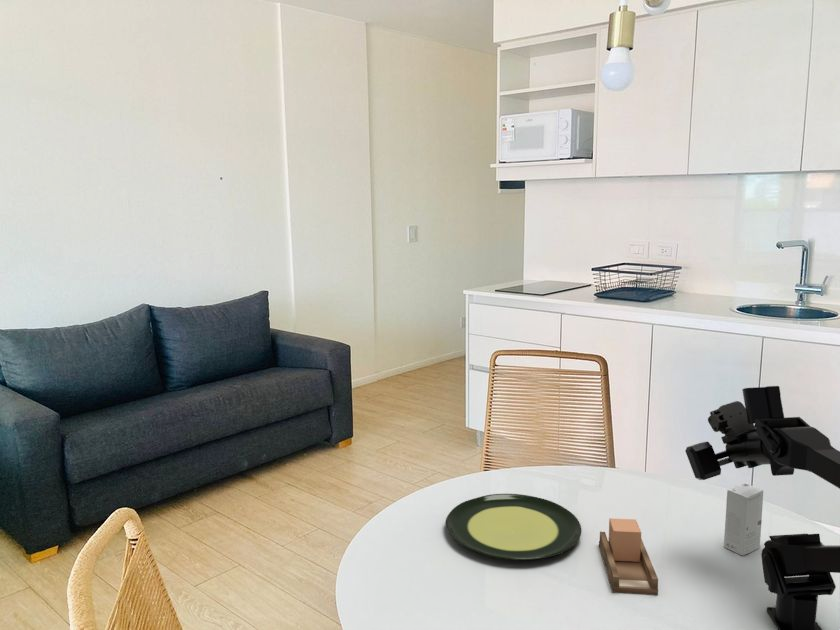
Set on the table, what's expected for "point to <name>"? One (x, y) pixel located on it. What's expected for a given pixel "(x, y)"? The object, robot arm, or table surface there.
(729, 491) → the skincare box
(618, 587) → the chute
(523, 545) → the plate
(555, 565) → the table surface
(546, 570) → the table surface
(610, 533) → the block
